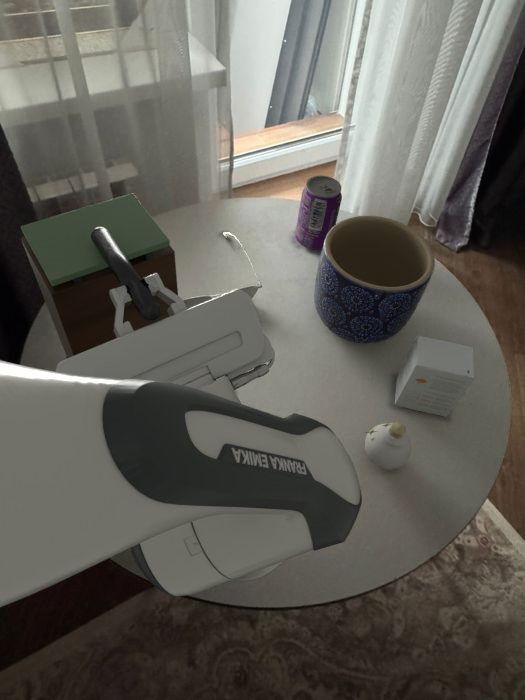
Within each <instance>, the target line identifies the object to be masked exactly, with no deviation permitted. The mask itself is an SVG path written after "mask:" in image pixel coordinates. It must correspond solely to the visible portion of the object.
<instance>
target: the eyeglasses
mask: <svg viewBox="0 0 525 700" xmlns="http://www.w3.org/2000/svg"><path fill="white" fill-rule="evenodd" d="M222 235H223V236H224V237H225V238H227V239H228V238H229V237H233V238H234V239H235V240H236V241H237V242H238V243H239V245H240V246H241V248H242V250H243V251H244V253H245V255H246V258H247V259H248V261H249V263H250V265H251V267H252V270H253V273H254V275H255V277H256V279H257V285H247V286H242V287H238V288H234V289H230V290H226V291H225V292H224V293H216V294H213V295H208V294H205V295H197V296H192V297H187V298H182V299H183V301H184V303H185V305H186V307H187V309H189V308H192V307H194V306H197V305H199V304H202V303H204V302H206V301H209V300H211V299H213V298H216V297H219V296H221V295H224V294H226V293H228V292H231V291H233V290H236V289H240V290H242V291H244V292H246V293H247V294H249V296H250V297H251V299H252V300H253V298H254V297H255V296H256V294H257V292H258V290H259V289H262V288H263V285H262V282H261V280H260V279H259V278H258V276H257V275H258V274H257V273H256V270H255V268H254V266H253V264H252V261H251V259H250V257H249V255H248V253H247V252H246V250H245V248H244V247H245V246H244V245H243V244H242V242H241V241H240V240H239V238H238V237H237V236H235V235H234V234H233V233H231V232H228V231H224V232H223V233H222Z"/></svg>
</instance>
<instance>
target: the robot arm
mask: <svg viewBox="0 0 525 700" xmlns="http://www.w3.org/2000/svg"><path fill="white" fill-rule="evenodd" d="M142 281H143V282H144V284H145V285H146V286H147V288H148V289H149V291H150V292H151V294H152V295H153V296H155V295H156V296H158V297H159V298H160V299H162V300H163V301H164V302H166V303H167V304H168V305H170V306H169V308H168V310H167V311H168V314H169V316H170V317H167V318H165V319H162V320H160V321H158V322H155V323H153V324H150V325H148V326H145V327H143V328H140V329H138V330H136V331H134V330H133V328H132V326H131V324H130V322H128V321H127V322H125V323H124V324H123V315H124V307H127V306H129V305H131V302H132V299H131V297H130V295H129V294H128V293H127V288H126V287H125V285H122V286H119V287H117V288H114V289H111V290H110V291H109V295H110V298H111V300H112V302H113V304H114V306H115V308H116V311H115V321H114V333H115V335H116V337H117V338H116V339H114V340H111V341H109V342H106V343H104V344H101V345H99V346H96V347H94V348H92V349H89V350H87V351H84V352H82V353H79V354H77V355H74V356H72V357H70V358H65V359H62V360H61V361H59V362H58V363H57V365H56V368H55V371H53V370H47V369H44V368H43V369H42V368H37V367H32V366H27V365H23V364H18V363H14V362H8V361H5V360H2V359H0V608H2V607H5V606H7V605H9V604H12V603H14V602H18V601H19V600H22V599H24V598H27V597H29V596H31V595H33V594H36V593H38V592H41V591H43V590H45V589H48V588H50V587H52V586H54V585H56V584H58V583H60V582H63V581H64V580H66V579H68V578H70V577H73V576H75V575H77V574H79V573H81V572H83V571H85V570H88V569H90V568H92V567H93V566H95V565H97V564H100V563H102V562H104V561H106V560H108V559H110V558H112V557H114V556H116V555H118V554H121V553H123V552H124V551H126V550H129V549H130V551H131V554H132V557H133V559H134V561H135V563H136V565H137V567H138V568H139V570H140V571H141V573H142V575H143V576H144V577H145V578H146V580H148V581H149V583H150V584H151V585H152V586H154V588H156V589H157V590H158V591H161V592H162V593H163V594H166V595H167V596H171V597H174V598H181V597H184V596H191V595H196V594H199V593H202V592H204V591H207V590H211V589H212V588H216V587H218V586H221V585H223V584H226V583H228V582H231V581H235V582H251V581H255V580H259V579H261V578H263V577H265V576H267V575H269V574H271V573H272V572H274V571H275V570H276V569H278V568H279V567H280V566H281V565H282V564H283V563H284V562H285V561H288V560H289V559H292V558H295V557H298V556H301V555H303V554H306V553H307V552H311V551H313V552H315V551H319V550H323V549H325V548H329V547H332V546H336V545H339V544H342V543H345V542H346V540H347V539H348V537H349V535H350V533H351V531H352V530H353V527H354V526H355V523H356V522H357V518H358V516H359V513H360V510H361V506H362V503H363V496H362V490H361V485H360V481H359V476H358V473H357V470H356V467H355V464H354V461H353V460H352V458H351V456H350V454H349V452H348V450H347V449H346V447H345V445H344V444H343V442H342V441H341V440H340V439H339V437H338V436H337V435H336V433H335V432H334V431H333V430H332V429H331V428H330V427H329V426H328V425H326V424H324V423H322V422H321V421H319V420H317V419H314V418H311V417H309V416H306V415H302V414H299V413H292V414H289V415H287V416H285V417H282V416H278V415H274V414H271V413H269V412H266V411H263V410H260V409H257V408H254V407H251V406H248V405H245V404H243V403H241V401H240V399H239V397H238V395H237V391H236V390H238V389H241V387H244V386H246V385H247V384H249V383H250V382H252V381H254V380H256V379H258V378H262V377H263V376H265V375H267V374H268V373H269V372H270V368H271V367H272V366H273V365H274V362H275V358H276V353H275V350H274V347H273V345H272V343H271V340H270V339H269V337H267V336H266V334H265V333H264V331H263V328H262V327H263V326H262V323H261V321H260V317H259V314H258V311H257V309H256V307H255V304H254V302H253V298H252V299H251V297H250V296H249V294H247V293H246V292H244V291H242V290H240V289H237V288H235V289H236V290H233V289H232V290H233V291H231V292H228V293H226V294H224V293H223V294H224V295H221V296H216V297H213V298H212V299H211V300H209V301H206V302H204V303H202V304H199V305H197V306H194V307H192V308H189V309H187V307H186V305H185V303H184V301H183V299H184V298H182V297H180V296H179V295H178V296H177V295H176V294H175V293H173V292H172V291H170V290H169V289H167V288H165V287H164V285H163V283H162V281H161V279H160V277H159V275H158V274H157V273H155V274H152V275H149V276H147V277H144V278H143V280H142ZM266 363H268V364H266Z"/></svg>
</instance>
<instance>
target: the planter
mask: <svg viewBox="0 0 525 700" xmlns="http://www.w3.org/2000/svg"><path fill="white" fill-rule="evenodd" d="M435 267H436V259H435V254H434V251H433V249H432V247H431V246H430V244H429V243H428V241H427V240H426V239H425V238H424V237H423V236H422V235H421V233H419V232H418V231H416V230H415V229H414V228H412V227H410V226H408V225H407V224H405V223H402V222H400V221H397V220H395V219H392V218H390V217H389V218H388V217H383V216H379V215H378V216H377V215H358V216H352V217H349V218H346V219H343V220H341V221H339V222H336V225H334V226H333V227H332V228H331V229H330V230H329V232H328V233H327V235H326V237H325V240H324V244H323V247H322V249H321V251H320V256H319V261H318V265H317V270H316V275H315V281H314V284H315V285H314V293H313V298H314V306H315V311H316V313H317V315H318V316H319V318H320V320H321V322H322V323H323V324H324V326H325V327H327V329H328V330H329V331H331V332H332V333H333V334H334V335H336V336H337V337H340V338H341V339H344V340H346V341H348V342H352V343H356V344H375V343H380V342H383V341H386V340H389V339H390V338H391V339H392V338H393V337H394V336H396V335H397V334H398V333H400V332H401V331H402V329H404V328H405V326H406V325H407V324H408V322H409V321H410V319H411V317H412V316H413V315H414V313H415V311H416V309H417V307H418V305H419V304H420V302H421V300H422V298H423V296H424V294H425V293H426V289H427V287H428V286H429V283H430V281H431V279H432V276H433V274H434V270H435Z"/></svg>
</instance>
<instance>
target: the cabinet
mask: <svg viewBox="0 0 525 700" xmlns="http://www.w3.org/2000/svg"><path fill="white" fill-rule="evenodd" d="M20 241H21V243H22V246H23V248H24V251H25V253H26V256H27V259H28V261H29V263H30V266H31V268H32V271H33V273H34V276H35V278H36V281H37V284H38V287H39V289H40V292H41V295H42V297H43V299H44V303H45V304H46V308H47V310H48V312H49V315H50V317H51V320H52V323H53V325H54V328H55V331H56V333H57V336H58V338H59V341H60V343H61V346H62V348H63V351H64V354H65V356H66V358H65V359H67V358H70V357H72V356H74V355H77V354H79V353H82V352H84V351H87V350H89V349H92V348H94V347H96V346H99V345H101V344H104V343H106V342H109V341H111V340H114V339H116V338H117V337H116V335H115V333H114V321H115V311H116V308H115V306H114V304H113V302H112V300H111V298H110V295H109V291H110V290H111V289H114V288H117V287H119V286H121V284H120V283H119V281H118V280H117V278H116V277H115V275H114V274H113V272H112V271H111V269H110V268H109V267H107V268H104V269H101V270H98V271H96V272H93V273H90V274H87V275H84V276H81V277H78V278H75V279H73V280H70V281H67V282H64V283H61V284H58V285H55V286H52V285H51V283H50V281H49V279H48V278H47V276H46V274H45V272H44V270H43V268H42V267H41V265H40V263H39V261H38V259H37V258H36V256H35V254H34V252H33V250H32V248H31V247H30V245H29V243H28V241H27V239H26V237H25V236H22V237H20ZM129 262H130V263H131V265H132V266H133V268H134V269H135V270H136V272H137V273H138V275H139V276H140V278H141V279H142V280H143V278H144V277H147V276H149V275H152V274H155V273H157V274H158V275H159V277H160V279H161V281H162V283H163V285H164V287H165V288H167V289H169V290H170V291H172V292H173V293H175V294H176V295H177V296H179V289H178V277H177V276H178V275H177V266H176V252H175V250H174V249H173V247H172V246H171V245H170V246H167V247H164V248H162V249H159V250H156V251H153V252H150V253H147V254H144V255H141V256H139V257H136V258H133V259H130V260H129ZM153 297H154V298H155V300H156V301H157V302H158V304H159V305H160V308H161V314H160V316H159V317H158V318H157V319H156V320H154V321H147V320H145V319H143V318H142V317H141V315H140V314H139V312H138V311H137V309H136V307H135V306H134V304H133V303H132V302H131V305H129V306H127V307H124V315H123V324H124V323H125V322H127V321H128V322H130V324H131V326H132V328H133V330H134V331H136V330H138V329H140V328H143V327H145V326H148V325H150V324H153V323H155V322H158V321H160V320H162V319H165V318H167V317H170V316H169V314H168V311H167V310H168V308H169V306H170V305H168V304H167V303H166V302H164V301H163V300H162V299H160V298H159V297H158V296H156V295H155V296H153Z"/></svg>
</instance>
